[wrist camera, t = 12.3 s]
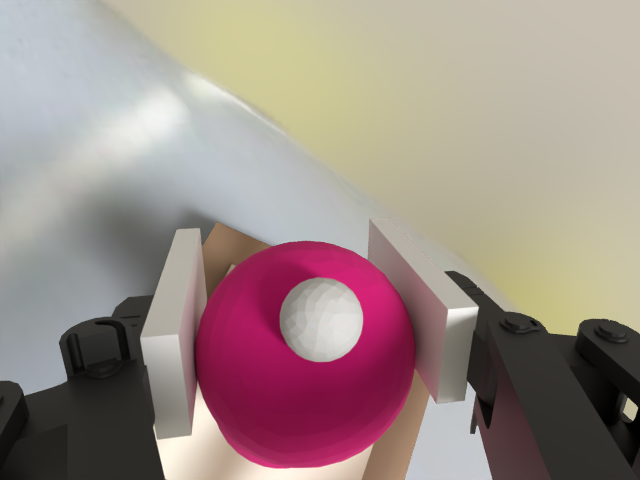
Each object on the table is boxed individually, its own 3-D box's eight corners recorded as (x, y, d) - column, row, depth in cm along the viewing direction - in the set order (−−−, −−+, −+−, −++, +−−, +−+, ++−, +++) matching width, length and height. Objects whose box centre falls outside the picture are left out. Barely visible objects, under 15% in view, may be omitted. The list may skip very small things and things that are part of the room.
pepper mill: (225, 477, 25) (139, 579, 7) (212, 346, 28) (125, 168, 9) (351, 449, 26) (561, 471, 8) (326, 327, 29) (443, 140, 11)
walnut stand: (84, 479, 28) (56, 486, 24) (221, 243, 36) (216, 220, 32) (345, 607, 27) (360, 634, 24) (429, 337, 35) (451, 325, 31)
